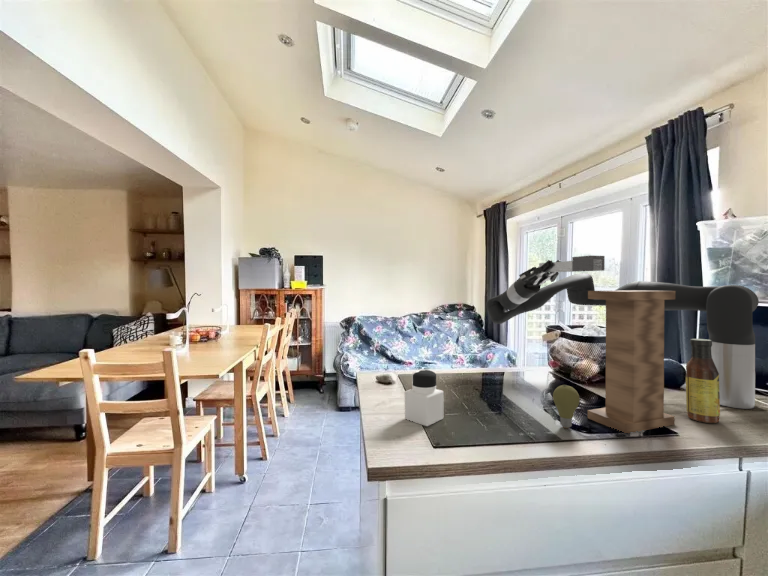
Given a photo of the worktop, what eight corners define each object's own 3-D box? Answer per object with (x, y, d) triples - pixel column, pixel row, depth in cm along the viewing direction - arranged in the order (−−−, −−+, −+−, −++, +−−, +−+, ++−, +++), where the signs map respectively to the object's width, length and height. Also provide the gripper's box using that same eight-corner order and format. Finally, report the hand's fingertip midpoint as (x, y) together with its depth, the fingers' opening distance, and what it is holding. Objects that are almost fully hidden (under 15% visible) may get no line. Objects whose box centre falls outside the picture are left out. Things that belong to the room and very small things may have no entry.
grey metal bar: (549, 272, 117) (549, 260, 117) (604, 270, 98) (604, 255, 98) (536, 272, 115) (536, 260, 115) (590, 270, 96) (590, 255, 96)
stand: (633, 410, 95) (634, 290, 95) (674, 424, 85) (675, 290, 85) (587, 418, 90) (587, 290, 89) (625, 433, 80) (626, 291, 80)
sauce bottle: (726, 425, 85) (727, 342, 85) (696, 423, 86) (696, 341, 86) (707, 415, 91) (708, 338, 91) (679, 413, 92) (680, 337, 92)
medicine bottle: (444, 418, 90) (444, 371, 90) (427, 427, 85) (427, 376, 84) (421, 411, 95) (421, 366, 94) (404, 419, 89) (403, 371, 89)
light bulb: (569, 434, 80) (569, 390, 80) (547, 425, 85) (547, 384, 85) (584, 429, 83) (585, 386, 82) (563, 421, 88) (563, 381, 87)
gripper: (542, 298, 125) (578, 272, 111) (509, 299, 121) (542, 272, 107) (535, 280, 129) (569, 252, 115) (502, 280, 124) (533, 251, 110)
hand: (555, 262), depth 111 cm, fingers closed on grey metal bar, 3 cm apart
